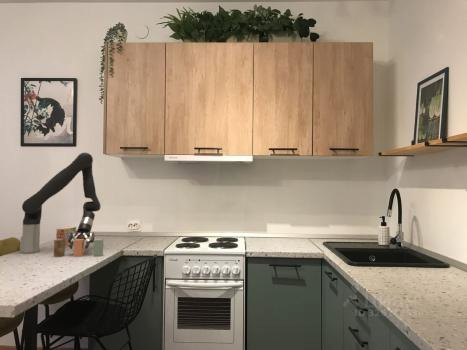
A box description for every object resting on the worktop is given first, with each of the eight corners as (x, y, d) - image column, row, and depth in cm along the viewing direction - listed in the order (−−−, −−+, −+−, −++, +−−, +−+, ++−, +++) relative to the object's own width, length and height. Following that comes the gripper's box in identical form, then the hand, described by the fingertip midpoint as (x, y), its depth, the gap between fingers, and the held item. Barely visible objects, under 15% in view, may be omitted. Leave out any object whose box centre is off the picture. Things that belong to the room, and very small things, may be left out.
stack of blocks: (76, 241, 237) (77, 225, 237) (84, 241, 236) (84, 225, 236) (55, 246, 216) (56, 228, 216) (64, 247, 215) (64, 228, 215)
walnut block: (53, 256, 185) (54, 240, 185) (56, 255, 189) (57, 239, 190) (61, 256, 186) (62, 240, 186) (64, 255, 190) (65, 239, 190)
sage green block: (93, 256, 188) (93, 240, 188) (95, 254, 192) (95, 239, 193) (100, 256, 188) (101, 240, 189) (102, 254, 193) (103, 238, 193)
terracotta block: (73, 256, 186) (74, 240, 187) (76, 255, 191) (76, 239, 191) (81, 256, 187) (81, 240, 187) (83, 254, 191) (84, 239, 192)
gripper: (72, 222, 196) (64, 244, 184) (96, 222, 198) (89, 244, 186) (74, 229, 201) (67, 251, 190) (98, 229, 203) (92, 251, 191)
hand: (78, 248), depth 188 cm, fingers open, 8 cm apart
